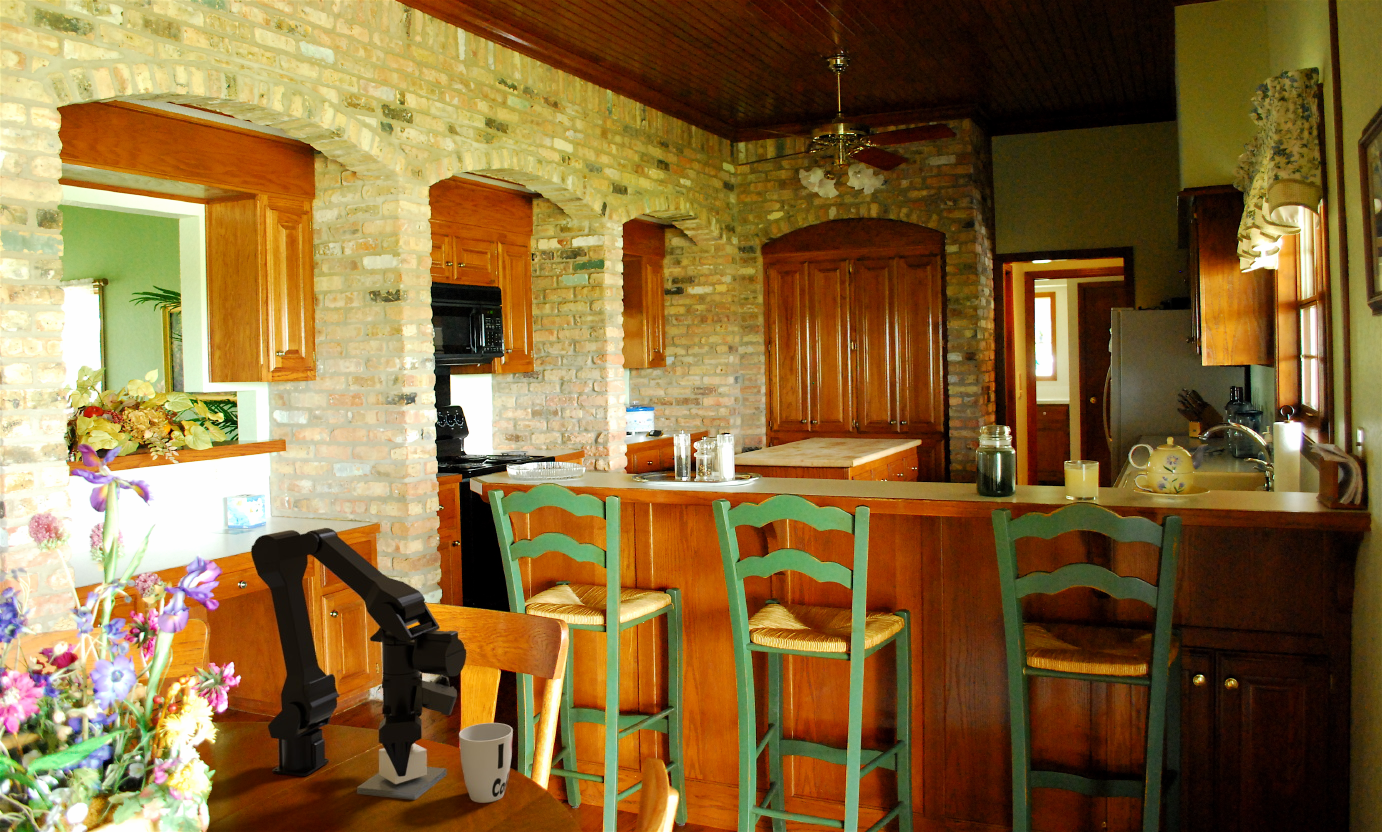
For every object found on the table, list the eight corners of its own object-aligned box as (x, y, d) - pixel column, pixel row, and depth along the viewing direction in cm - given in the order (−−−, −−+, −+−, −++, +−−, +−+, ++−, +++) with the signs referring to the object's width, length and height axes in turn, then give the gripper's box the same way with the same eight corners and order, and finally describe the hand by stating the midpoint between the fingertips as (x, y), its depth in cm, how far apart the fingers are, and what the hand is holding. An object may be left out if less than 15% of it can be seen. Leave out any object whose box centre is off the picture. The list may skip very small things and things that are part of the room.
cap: (395, 784, 152) (395, 756, 152) (379, 774, 156) (378, 747, 156) (427, 774, 156) (426, 747, 156) (410, 765, 160) (409, 738, 160)
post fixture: (357, 793, 152) (356, 768, 152) (391, 769, 162) (391, 745, 162) (415, 799, 150) (414, 774, 150) (446, 774, 159) (446, 750, 159)
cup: (501, 808, 146) (500, 742, 146) (450, 804, 148) (449, 739, 148) (521, 787, 154) (520, 724, 154) (473, 783, 156) (472, 721, 156)
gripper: (454, 682, 148) (456, 784, 149) (452, 650, 166) (453, 741, 167) (377, 688, 145) (379, 792, 146) (383, 655, 163) (385, 748, 164)
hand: (402, 767), depth 156 cm, fingers closed on cap, 7 cm apart
